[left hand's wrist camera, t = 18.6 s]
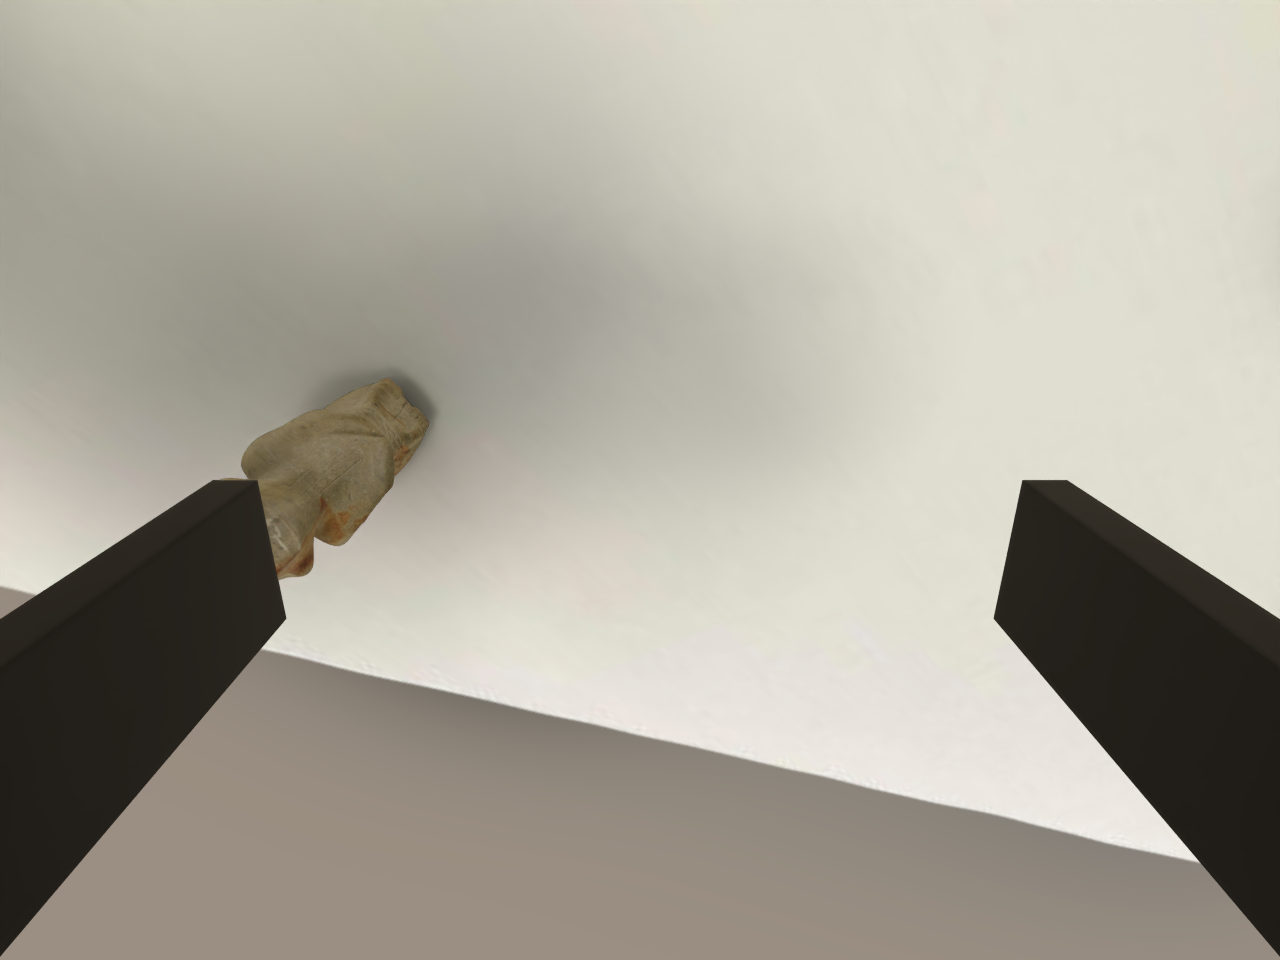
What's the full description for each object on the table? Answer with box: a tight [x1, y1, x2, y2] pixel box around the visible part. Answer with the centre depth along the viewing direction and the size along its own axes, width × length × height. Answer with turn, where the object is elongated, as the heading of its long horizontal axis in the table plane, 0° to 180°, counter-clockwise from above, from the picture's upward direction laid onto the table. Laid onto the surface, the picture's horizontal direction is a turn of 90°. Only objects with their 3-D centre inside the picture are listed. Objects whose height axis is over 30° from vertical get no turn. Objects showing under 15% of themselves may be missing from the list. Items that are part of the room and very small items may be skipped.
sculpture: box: [221, 378, 429, 580], centre depth 33 cm, size 6×7×15 cm
